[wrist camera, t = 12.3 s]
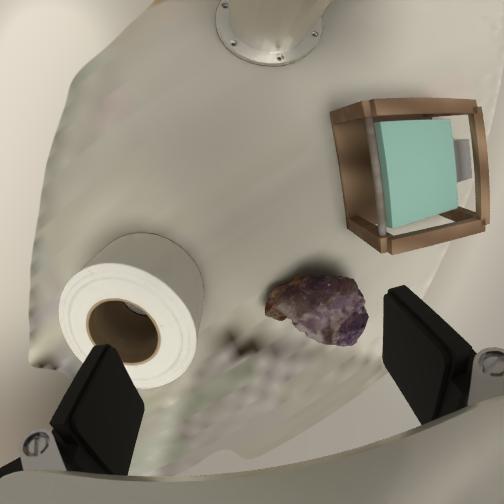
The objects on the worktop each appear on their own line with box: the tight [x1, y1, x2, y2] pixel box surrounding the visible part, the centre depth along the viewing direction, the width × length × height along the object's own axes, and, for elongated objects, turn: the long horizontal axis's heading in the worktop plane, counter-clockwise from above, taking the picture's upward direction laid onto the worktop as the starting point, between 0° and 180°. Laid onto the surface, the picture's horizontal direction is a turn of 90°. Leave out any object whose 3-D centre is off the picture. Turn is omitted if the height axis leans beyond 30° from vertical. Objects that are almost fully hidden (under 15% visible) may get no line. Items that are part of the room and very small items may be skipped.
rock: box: [265, 275, 369, 346], centre depth 37 cm, size 12×9×10 cm
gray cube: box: [453, 139, 472, 182], centre depth 33 cm, size 5×5×5 cm
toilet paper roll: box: [59, 233, 204, 389], centre depth 34 cm, size 16×15×11 cm
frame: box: [330, 98, 490, 255], centre depth 31 cm, size 14×14×11 cm
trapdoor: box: [374, 119, 458, 228], centre depth 29 cm, size 10×11×1 cm
